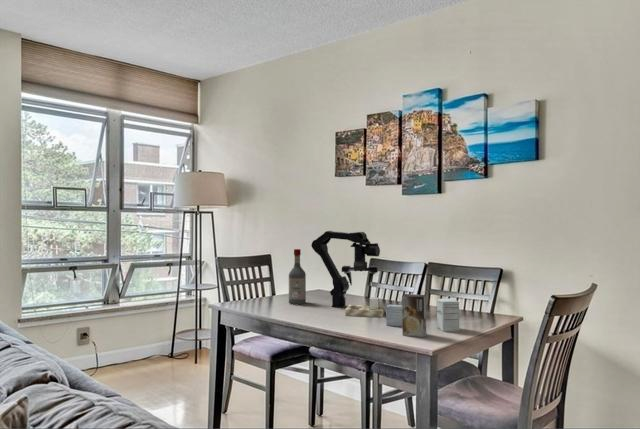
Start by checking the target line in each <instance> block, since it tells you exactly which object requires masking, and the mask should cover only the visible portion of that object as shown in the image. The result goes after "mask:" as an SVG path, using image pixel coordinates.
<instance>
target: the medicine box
mask: <svg viewBox="0 0 640 429" xmlns="http://www.w3.org/2000/svg"><path fill="white" fill-rule="evenodd" d="M385 313H386V317H385V319H386V322H385V323H386V326H387V327H388V326H389V327H390V326H391V327H402V304H400V305H399V304H388V305H387V306H386V310H385Z"/></svg>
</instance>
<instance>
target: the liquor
mask: <svg viewBox="0 0 640 429" xmlns="http://www.w3.org/2000/svg"><path fill="white" fill-rule="evenodd" d="M293 255H294V264H293V267H292V268H291V270H290V272H289V274H288V304H289V303H290V304H289V305H292V304H302V305H305V304H306V300H307V299H306V298H307V297H306V296H307V295H306V294H307V293H306V292H307V289H306V288H307V287H306V286H307V285H306V284H307V283H306V282H307V281H306V276H307V273H306V271H305V270H304V269H303V268H302V266H301V255H302V254H301V249H299V248H297V249H296V248H294V249H293Z"/></svg>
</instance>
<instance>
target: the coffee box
mask: <svg viewBox="0 0 640 429" xmlns="http://www.w3.org/2000/svg"><path fill="white" fill-rule="evenodd" d="M401 305H402V326H401V329H402V336H405V337H406V336H407V337H416V338H417V337H419V338H426V335H427V334H428V331H427V295H426V294H413V293H404V294H402V296H401Z"/></svg>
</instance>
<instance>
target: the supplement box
mask: <svg viewBox="0 0 640 429" xmlns="http://www.w3.org/2000/svg"><path fill="white" fill-rule="evenodd" d="M436 314H437V316H436V328H437V329H439V330H441V332H445V333H446V332H448V333H449V332H460V301H459V300H457V299H454V298H437V299H436Z"/></svg>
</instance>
